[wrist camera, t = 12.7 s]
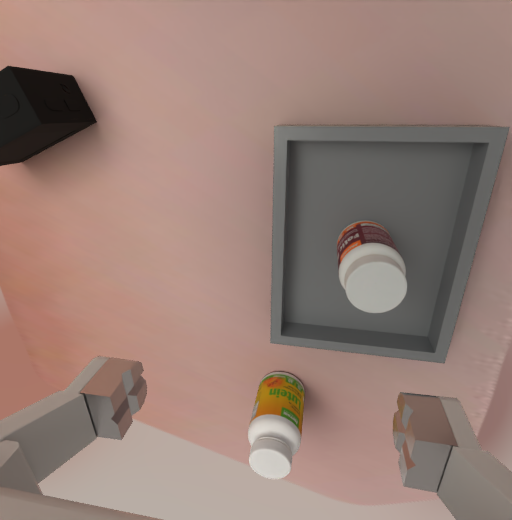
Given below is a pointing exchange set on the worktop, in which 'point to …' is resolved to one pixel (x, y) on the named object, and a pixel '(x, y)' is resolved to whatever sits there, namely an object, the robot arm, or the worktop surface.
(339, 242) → the pill bottle
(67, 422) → the robot arm
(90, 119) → the digital camera
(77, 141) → the worktop surface
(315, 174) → the tray
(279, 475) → the supplement bottle
